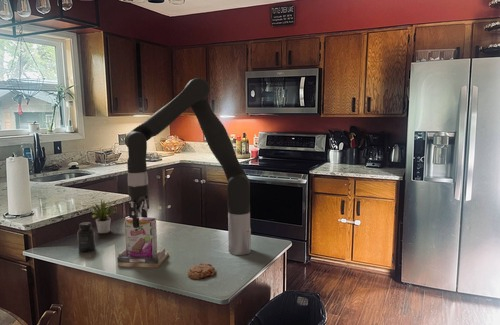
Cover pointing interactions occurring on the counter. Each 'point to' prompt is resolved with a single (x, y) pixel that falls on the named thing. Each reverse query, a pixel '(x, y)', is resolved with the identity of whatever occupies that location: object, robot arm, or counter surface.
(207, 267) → the cookie
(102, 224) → the house plant
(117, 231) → the counter surface
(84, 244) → the supplement bottle
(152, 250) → the candy bar box
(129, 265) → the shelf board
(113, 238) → the counter surface
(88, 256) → the counter surface
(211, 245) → the counter surface
